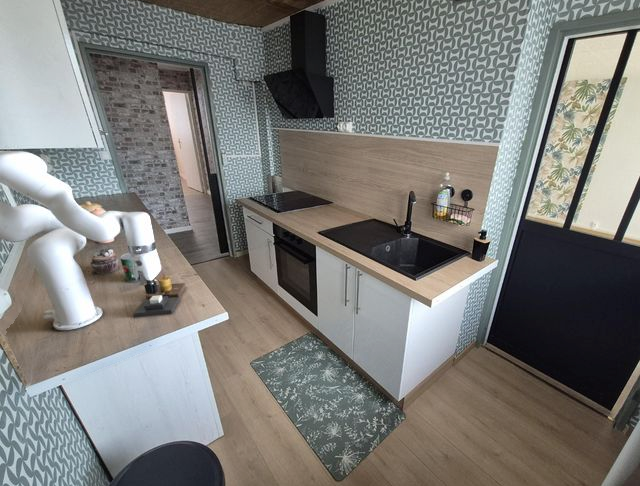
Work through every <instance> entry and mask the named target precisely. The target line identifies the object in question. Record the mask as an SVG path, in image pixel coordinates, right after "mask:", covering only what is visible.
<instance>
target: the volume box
mask: <svg viewBox="0 0 640 486" xmlns="http://www.w3.org/2000/svg"><path fill="white" fill-rule="evenodd" d="M156 285H157V290H158V291H157V293H156V294H146V296H145V297H146V300H149V299H150V297H152V296H158V295H162V296H168V298H174V297H179V300H180V298H181V297H182V295H183V293H184V292H185V290H186V288H187V287H186V283H185V282H182V283H181V282H179V283H171V285H172V289H171V290H170V291H167V292H162V291H161V290H160V286H159V284H156Z"/></svg>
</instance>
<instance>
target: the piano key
mask: <svg viewBox="0 0 640 486" xmlns="http://www.w3.org/2000/svg"><path fill="white" fill-rule="evenodd" d="M149 301H150V304H154V303H160V302H161V301H162V295H158V296H152V297H151V299H150V300H149Z"/></svg>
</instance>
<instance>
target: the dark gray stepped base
mask: <svg viewBox="0 0 640 486" xmlns="http://www.w3.org/2000/svg"><path fill="white" fill-rule="evenodd" d="M150 299H151V297H150ZM150 299H149V300H150ZM149 300H147V299H144V300H143V301H142V302H141V303H140V304H139V306H138V307H137V309H136V310H135V311H134V312H133V316H134V318H142V317H151V316H162V315H171V314H173V313H174V311H175V309H176V308H177V306H178V305H179V303H180V301H181V300H180V299H179V297H174V298H168V296H162V301H161V302H160V303H154V304H150V301H149Z"/></svg>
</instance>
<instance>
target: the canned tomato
mask: <svg viewBox="0 0 640 486" xmlns="http://www.w3.org/2000/svg"><path fill="white" fill-rule="evenodd" d="M119 259H120V262H121V263H120V264H121V266H122V270H123V273H124V277H125V281H127V282H130V283H133V282H138V281H137V280H136V278H135V275H134V270H133V264H132V255H131V254H130V252H128V253H123V254H122V255H120V256H119Z"/></svg>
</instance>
